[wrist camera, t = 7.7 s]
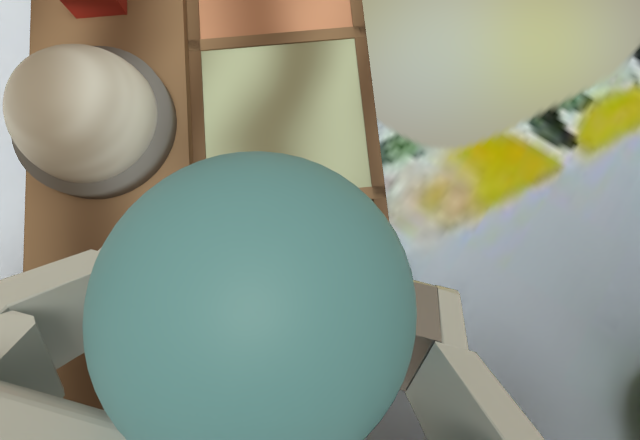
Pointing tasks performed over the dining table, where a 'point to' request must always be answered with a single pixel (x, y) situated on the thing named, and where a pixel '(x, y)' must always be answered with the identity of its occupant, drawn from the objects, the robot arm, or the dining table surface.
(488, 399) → the robot arm
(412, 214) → the dining table surface
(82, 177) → the game board
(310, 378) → the pawn
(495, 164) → the dining table surface
